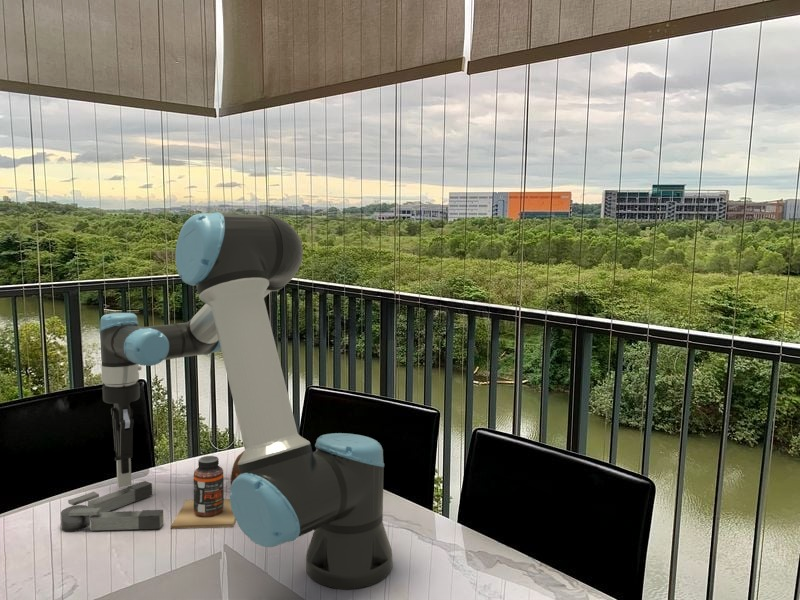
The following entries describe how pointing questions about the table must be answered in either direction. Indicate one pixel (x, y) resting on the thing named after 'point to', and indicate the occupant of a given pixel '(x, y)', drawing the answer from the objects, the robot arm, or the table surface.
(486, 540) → the table surface
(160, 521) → the tongs base
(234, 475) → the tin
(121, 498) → the tong jaw
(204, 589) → the table surface
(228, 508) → the cork mat
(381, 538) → the robot arm
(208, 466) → the supplement bottle
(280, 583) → the table surface
